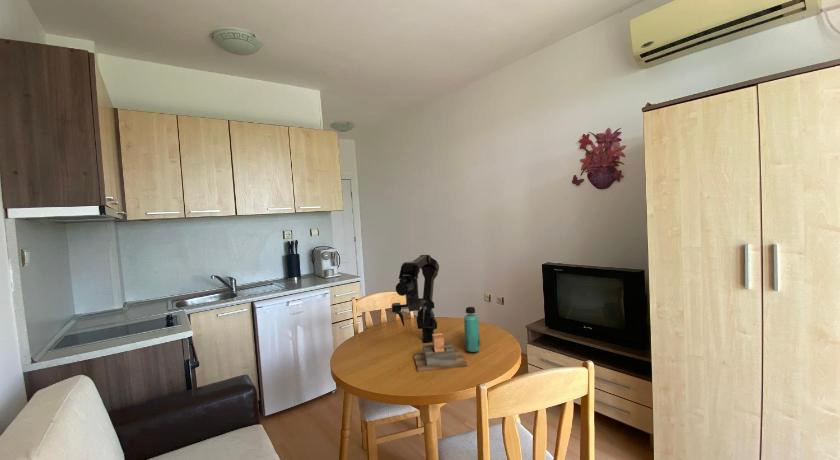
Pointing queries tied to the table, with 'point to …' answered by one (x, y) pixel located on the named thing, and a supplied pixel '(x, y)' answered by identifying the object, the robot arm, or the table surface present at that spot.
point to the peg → (438, 342)
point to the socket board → (445, 366)
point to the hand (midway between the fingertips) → (414, 324)
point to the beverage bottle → (471, 330)
